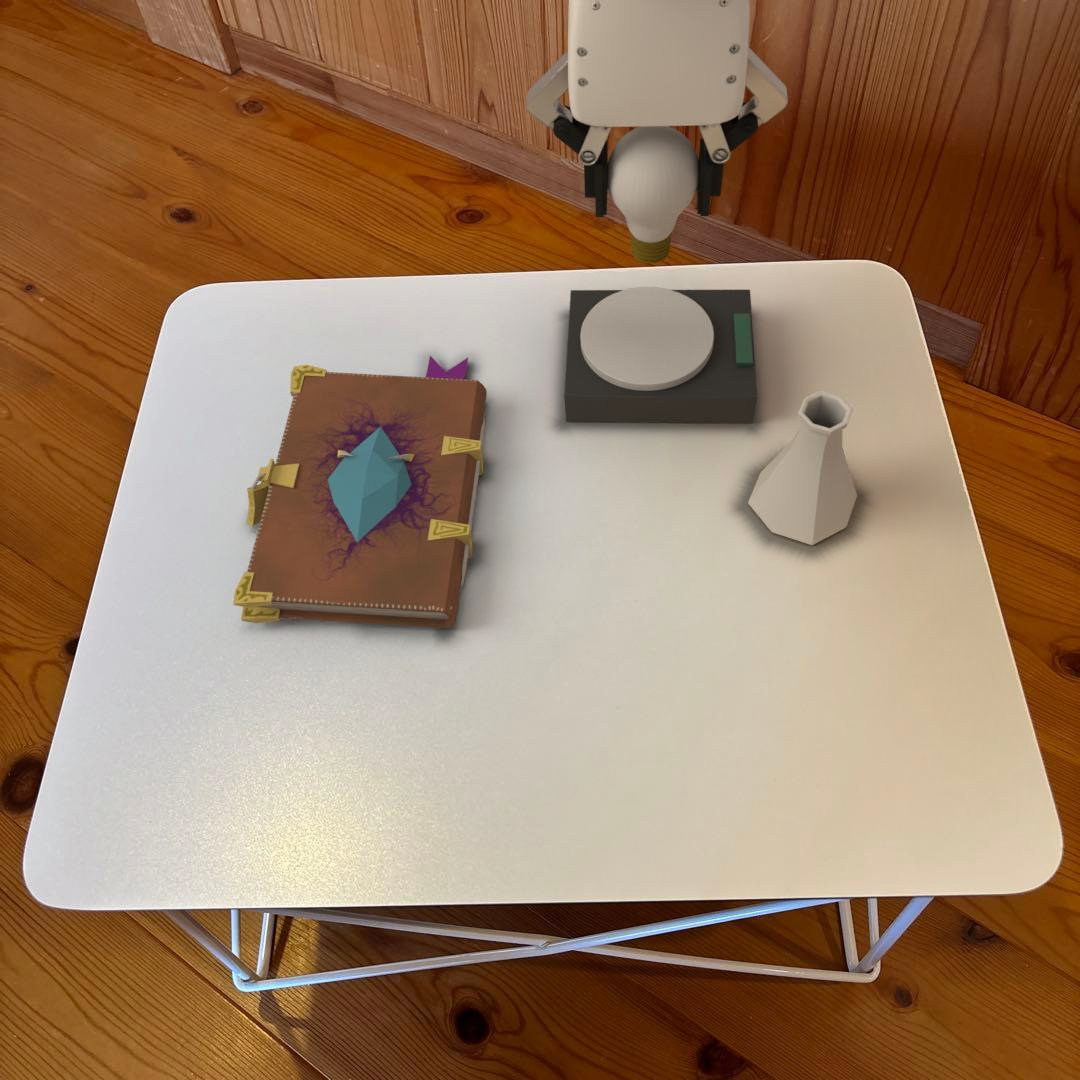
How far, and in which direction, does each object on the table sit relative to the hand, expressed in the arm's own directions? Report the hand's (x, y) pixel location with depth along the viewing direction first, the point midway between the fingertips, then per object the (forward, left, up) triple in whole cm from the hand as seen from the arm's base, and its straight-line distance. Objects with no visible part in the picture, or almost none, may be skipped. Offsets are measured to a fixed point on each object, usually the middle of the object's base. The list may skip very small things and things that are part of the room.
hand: (651, 200), depth 68 cm
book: (+20, +11, -16) cm, 28 cm away
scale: (-1, 0, -16) cm, 16 cm away
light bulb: (0, 0, -5) cm, 5 cm away
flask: (-11, +13, -16) cm, 23 cm away
